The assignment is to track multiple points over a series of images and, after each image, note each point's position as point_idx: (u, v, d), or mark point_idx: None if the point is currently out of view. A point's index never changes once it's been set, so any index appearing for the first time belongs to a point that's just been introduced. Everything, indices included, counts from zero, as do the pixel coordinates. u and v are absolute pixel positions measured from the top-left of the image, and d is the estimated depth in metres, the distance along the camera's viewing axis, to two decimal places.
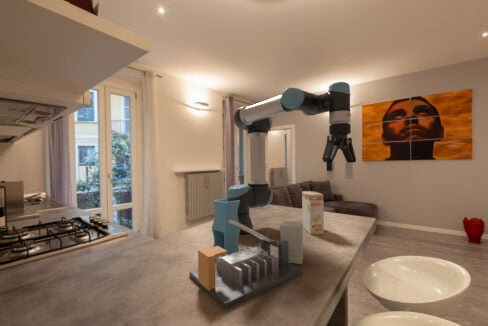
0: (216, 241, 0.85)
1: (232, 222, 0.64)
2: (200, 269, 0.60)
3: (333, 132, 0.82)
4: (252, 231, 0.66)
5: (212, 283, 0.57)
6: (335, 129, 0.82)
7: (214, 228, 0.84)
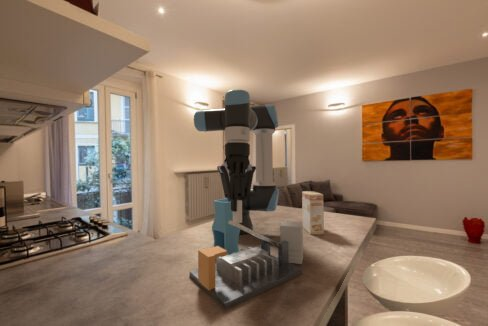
0: (216, 241, 0.85)
1: (232, 223, 0.64)
2: (200, 269, 0.60)
3: (226, 154, 0.64)
4: (252, 232, 0.66)
5: (212, 283, 0.57)
6: (227, 150, 0.63)
7: (214, 228, 0.84)
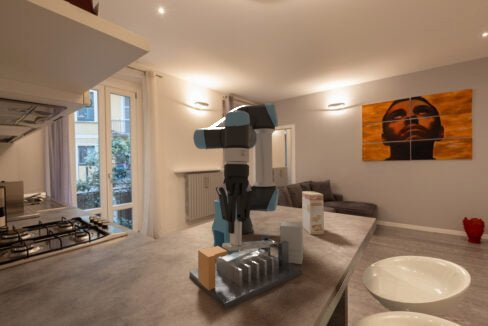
0: (216, 241, 0.85)
1: (225, 247, 0.63)
2: (200, 269, 0.60)
3: (225, 175, 0.64)
4: (248, 247, 0.65)
5: (212, 283, 0.57)
6: (226, 171, 0.63)
7: (214, 228, 0.84)
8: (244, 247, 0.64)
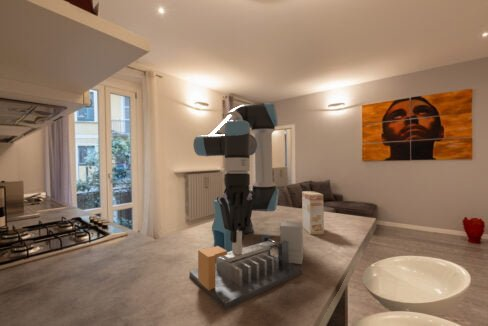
0: (216, 241, 0.85)
1: (225, 258, 0.63)
2: (200, 269, 0.60)
3: (225, 184, 0.64)
4: (248, 254, 0.65)
5: (212, 283, 0.57)
6: (227, 181, 0.63)
7: (214, 228, 0.84)
8: (244, 255, 0.64)
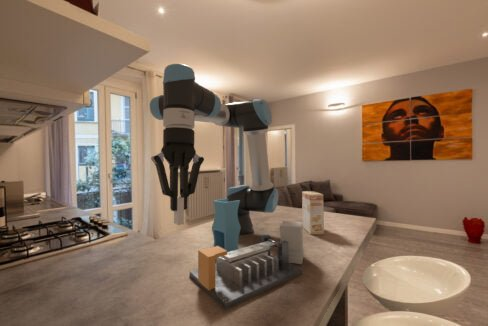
0: (216, 241, 0.85)
1: (225, 258, 0.63)
2: (200, 269, 0.60)
3: (163, 141, 0.53)
4: (248, 254, 0.65)
5: (212, 283, 0.57)
6: (164, 137, 0.52)
7: (214, 228, 0.84)
8: (244, 255, 0.64)
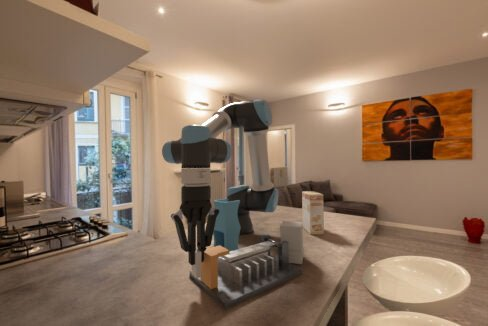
0: (216, 241, 0.85)
1: (225, 258, 0.63)
2: (202, 269, 0.60)
3: (181, 199, 0.56)
4: (248, 254, 0.65)
5: (214, 282, 0.57)
6: (183, 195, 0.55)
7: (214, 228, 0.84)
8: (244, 255, 0.64)
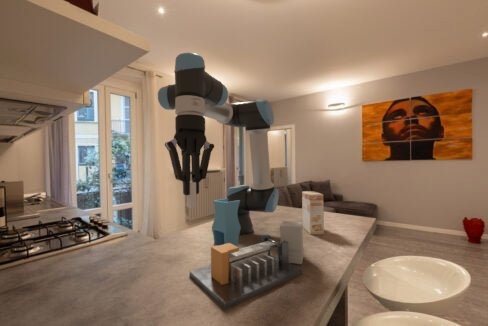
0: (216, 241, 0.85)
1: None
2: (213, 265, 0.62)
3: (175, 128, 0.55)
4: (248, 254, 0.65)
5: (225, 278, 0.59)
6: (177, 123, 0.54)
7: (214, 228, 0.84)
8: (244, 255, 0.64)
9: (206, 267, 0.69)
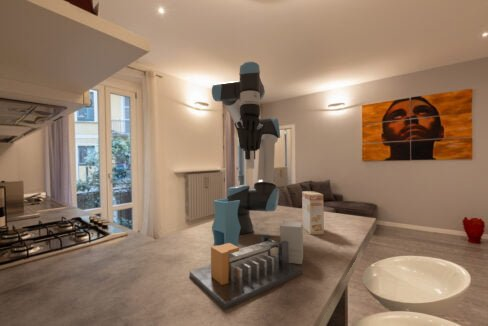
0: (216, 241, 0.85)
1: None
2: (213, 265, 0.62)
3: (241, 113, 0.80)
4: (248, 254, 0.65)
5: (225, 278, 0.59)
6: (242, 110, 0.79)
7: (214, 228, 0.84)
8: (244, 255, 0.64)
9: (206, 267, 0.69)
